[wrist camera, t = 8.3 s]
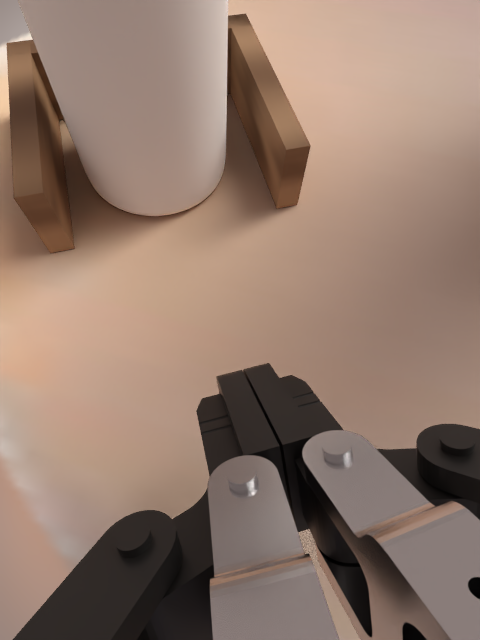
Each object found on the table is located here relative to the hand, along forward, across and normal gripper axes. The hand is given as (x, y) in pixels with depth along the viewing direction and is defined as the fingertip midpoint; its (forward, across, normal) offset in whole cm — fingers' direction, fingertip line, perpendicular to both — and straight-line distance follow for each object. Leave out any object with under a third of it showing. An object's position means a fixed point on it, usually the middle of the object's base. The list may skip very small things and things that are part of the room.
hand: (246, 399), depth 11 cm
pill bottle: (+16, 0, -7) cm, 17 cm away
